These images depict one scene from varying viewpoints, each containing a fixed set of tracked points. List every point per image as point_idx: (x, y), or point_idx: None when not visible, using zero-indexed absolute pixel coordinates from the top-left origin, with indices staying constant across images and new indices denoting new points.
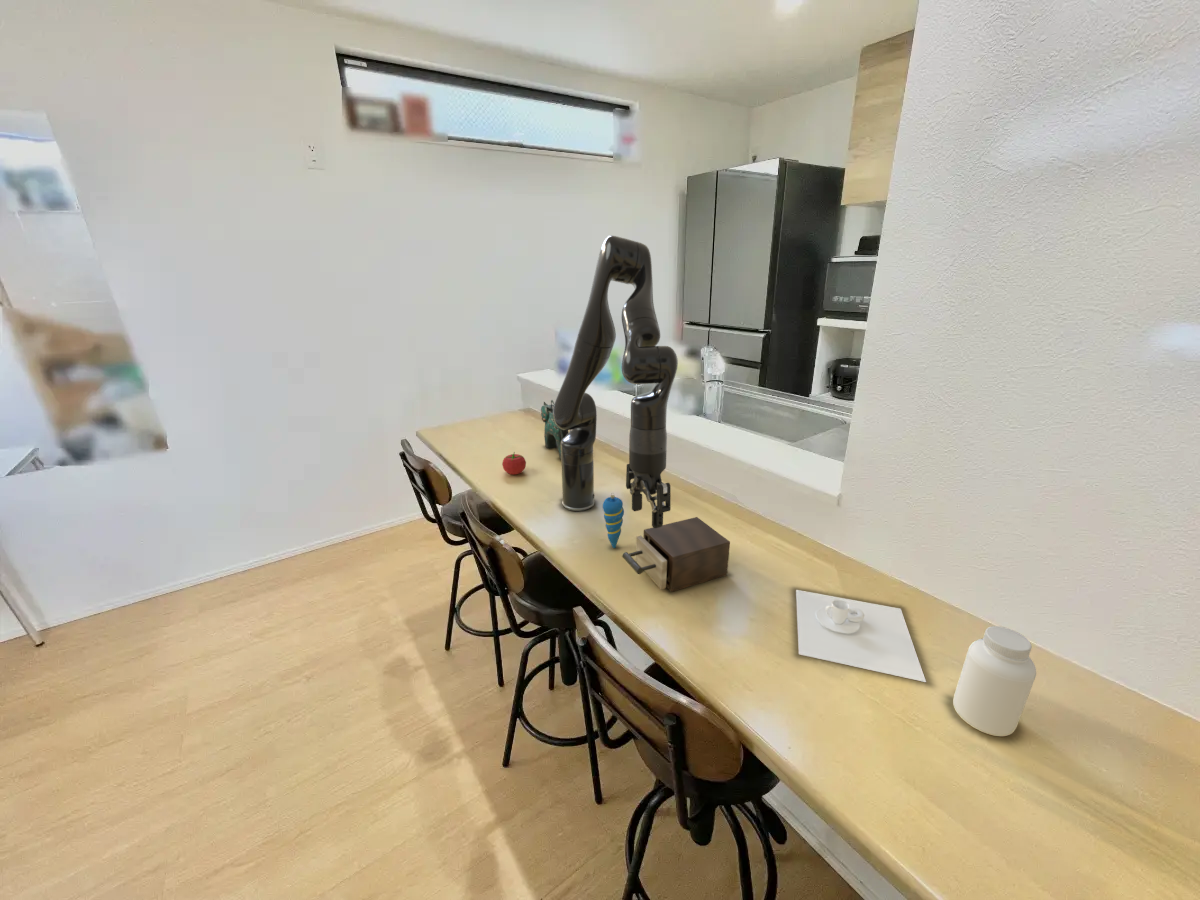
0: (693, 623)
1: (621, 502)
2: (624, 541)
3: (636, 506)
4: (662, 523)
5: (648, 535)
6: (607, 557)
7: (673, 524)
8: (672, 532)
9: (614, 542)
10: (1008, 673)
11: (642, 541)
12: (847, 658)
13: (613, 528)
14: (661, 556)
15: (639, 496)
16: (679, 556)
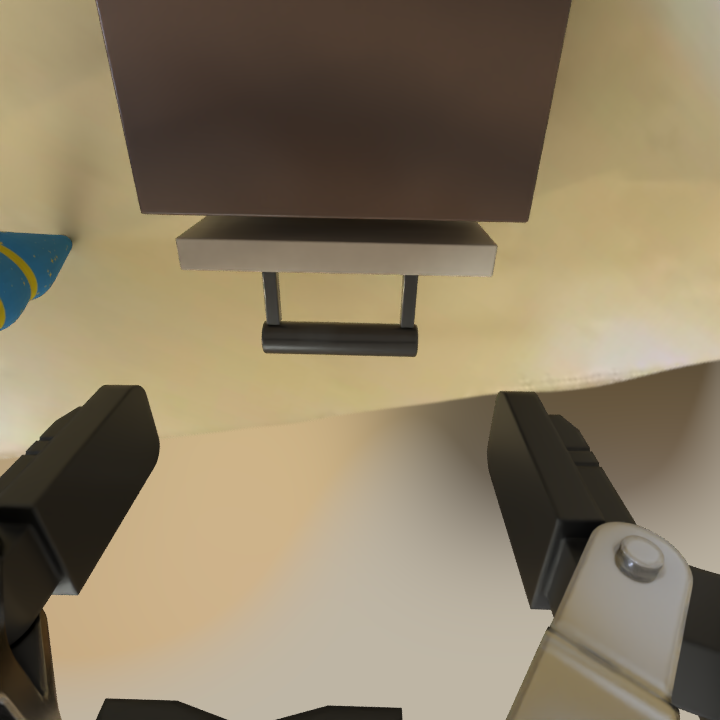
0: (674, 212)
1: None
2: (10, 165)
3: (134, 459)
4: (577, 434)
5: (212, 213)
6: (140, 300)
7: None
8: (241, 14)
9: (63, 260)
10: None
11: (248, 266)
12: None
13: (21, 306)
14: (443, 251)
15: (61, 521)
16: (536, 170)
